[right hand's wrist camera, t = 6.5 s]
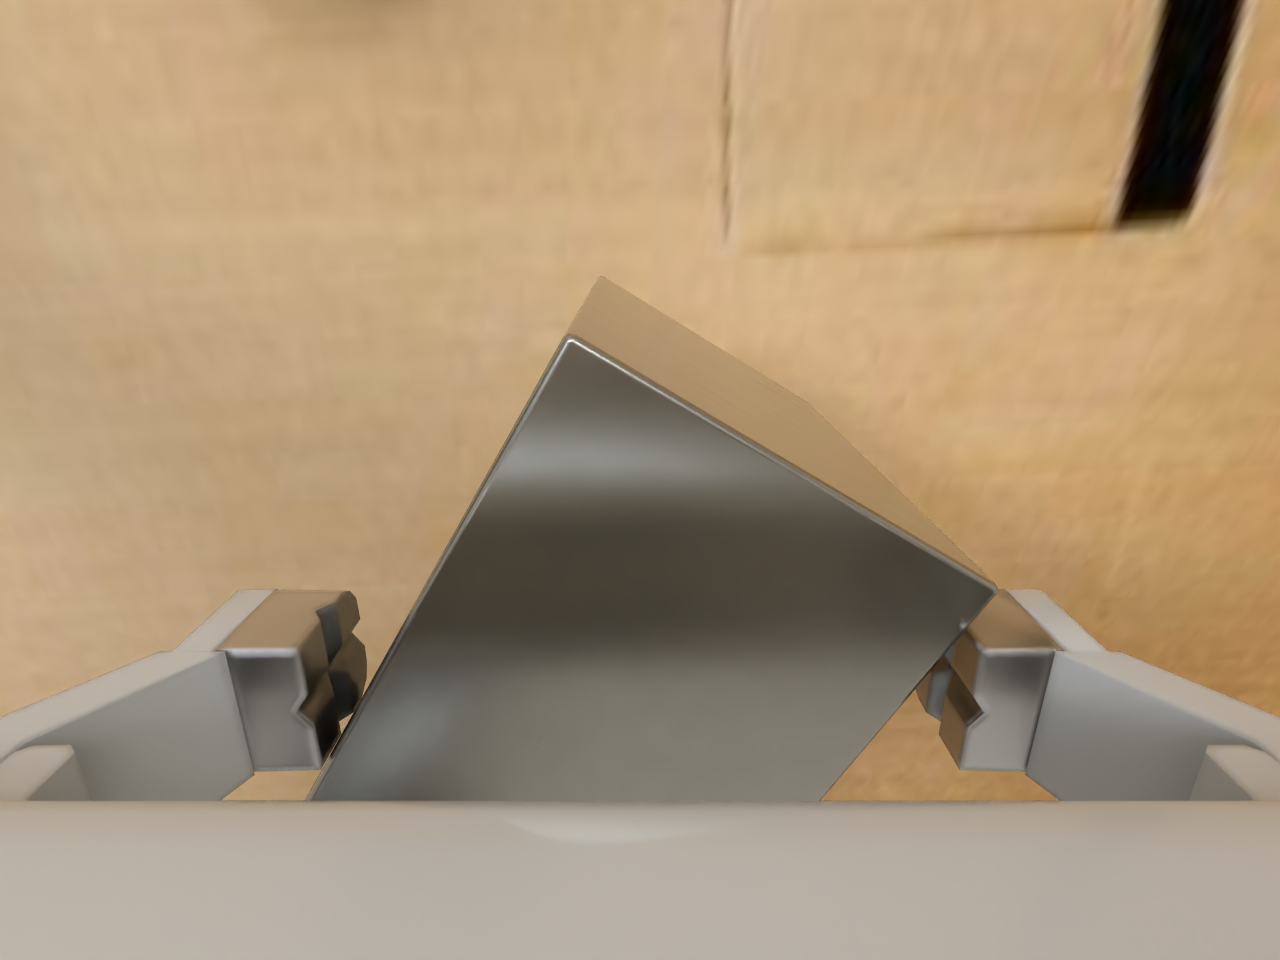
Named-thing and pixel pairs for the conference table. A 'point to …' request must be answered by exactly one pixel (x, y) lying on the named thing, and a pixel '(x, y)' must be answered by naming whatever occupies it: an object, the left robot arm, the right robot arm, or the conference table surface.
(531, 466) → the bar
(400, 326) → the conference table surface
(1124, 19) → the conference table surface
